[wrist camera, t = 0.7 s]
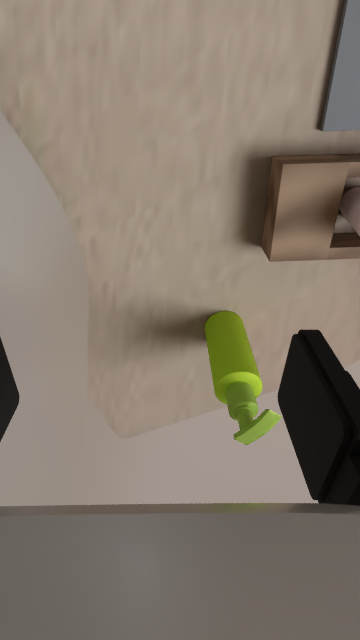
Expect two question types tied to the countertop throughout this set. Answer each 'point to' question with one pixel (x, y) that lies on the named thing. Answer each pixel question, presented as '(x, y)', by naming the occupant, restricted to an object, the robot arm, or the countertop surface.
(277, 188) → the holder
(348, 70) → the mat
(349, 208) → the smoothie
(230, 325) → the soap dispenser
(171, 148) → the countertop surface
